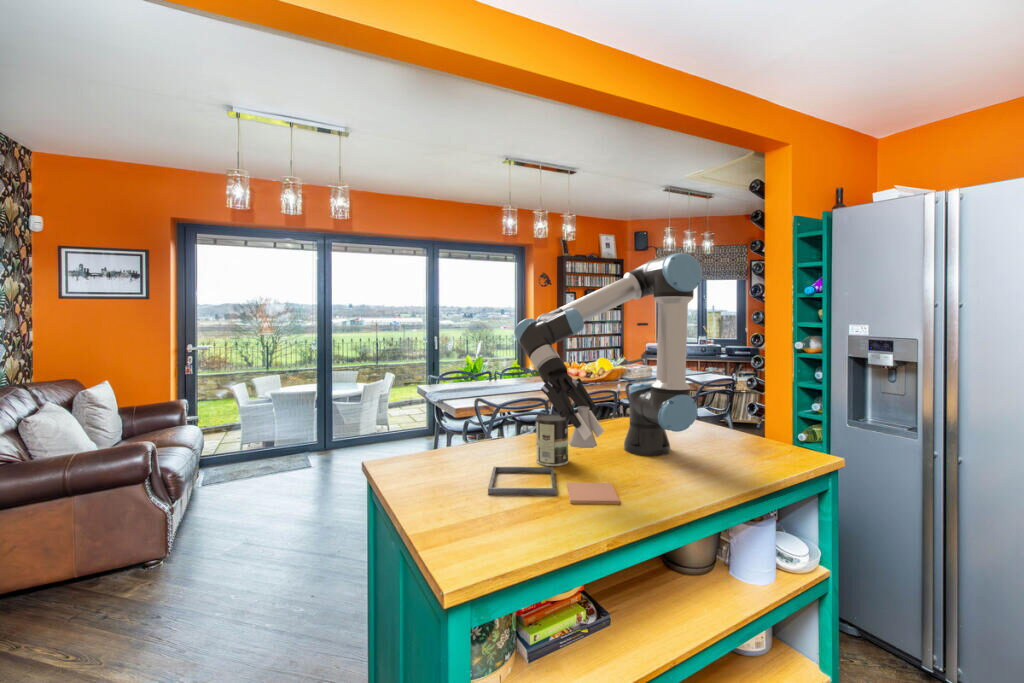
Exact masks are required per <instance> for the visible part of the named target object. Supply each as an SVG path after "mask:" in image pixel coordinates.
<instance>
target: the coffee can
mask: <svg viewBox="0 0 1024 683" xmlns="http://www.w3.org/2000/svg"><path fill="white" fill-rule="evenodd" d="M565 418H566V417H564V418H562V417H561V416H560V415H559V414H552V413H551V414H549V413H548V414H540V415H538V416H536V417H535V423H536V425H535V426H536V428H535V430H536V432H535V434H536V435H535V436H536V443H535V444H536V460H535V461H536V463H537V464H538V465H541V466H544V467H560V466H564V465H567V464H568V463H569V420H568V421H567V420H566V419H565Z"/></svg>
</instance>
